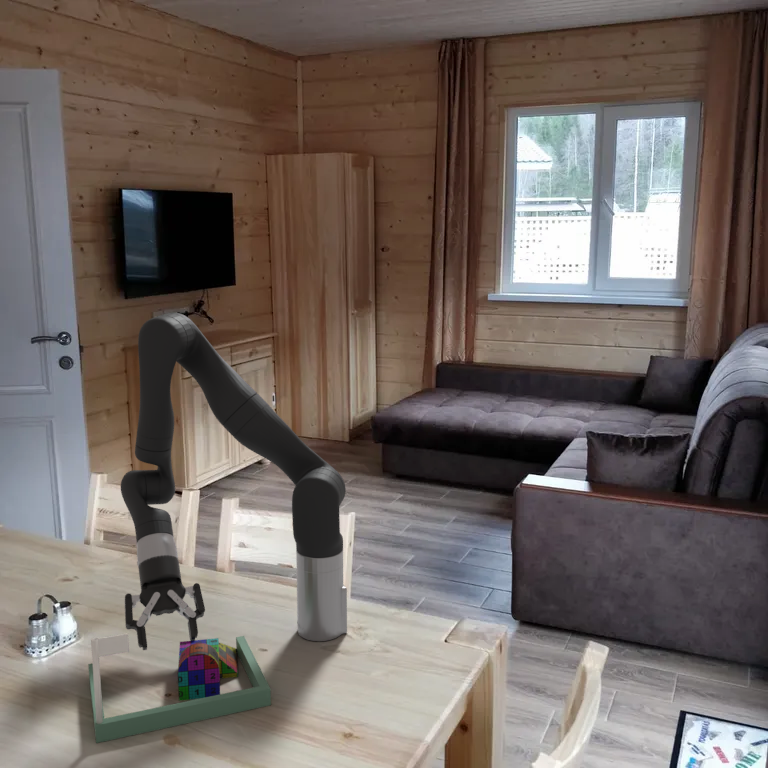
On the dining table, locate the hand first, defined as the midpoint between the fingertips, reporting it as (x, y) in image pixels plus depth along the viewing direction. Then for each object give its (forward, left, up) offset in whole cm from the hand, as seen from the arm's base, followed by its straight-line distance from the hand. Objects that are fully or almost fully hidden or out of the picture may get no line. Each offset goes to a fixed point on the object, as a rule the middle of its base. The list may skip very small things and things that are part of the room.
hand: (169, 644), depth 149 cm
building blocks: (-6, +5, -5) cm, 9 cm away
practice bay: (0, +9, -5) cm, 10 cm away
